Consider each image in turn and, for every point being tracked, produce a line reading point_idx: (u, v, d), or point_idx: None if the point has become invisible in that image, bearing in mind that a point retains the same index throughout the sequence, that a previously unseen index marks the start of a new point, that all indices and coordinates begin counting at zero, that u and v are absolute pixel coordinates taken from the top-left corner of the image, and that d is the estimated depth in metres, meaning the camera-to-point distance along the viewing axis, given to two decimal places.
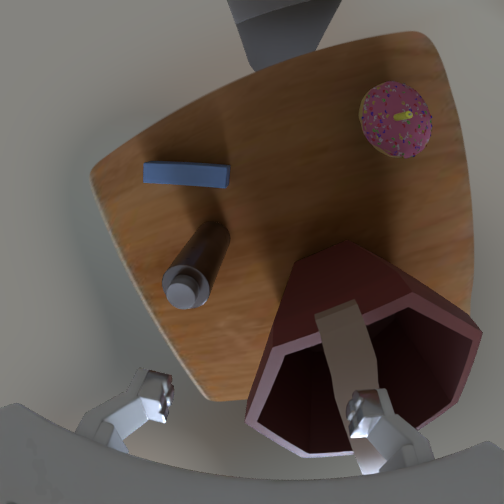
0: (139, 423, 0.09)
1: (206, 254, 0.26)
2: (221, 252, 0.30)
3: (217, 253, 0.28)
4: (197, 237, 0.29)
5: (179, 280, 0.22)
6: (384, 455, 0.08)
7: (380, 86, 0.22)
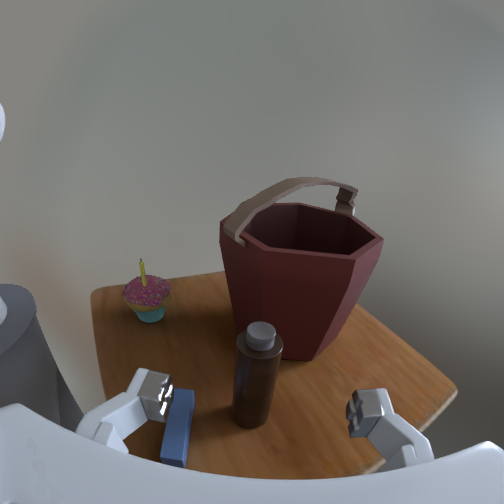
0: (139, 423, 0.09)
1: None
2: None
3: None
4: (234, 389, 0.27)
5: (246, 333, 0.25)
6: (384, 455, 0.08)
7: (125, 295, 0.42)
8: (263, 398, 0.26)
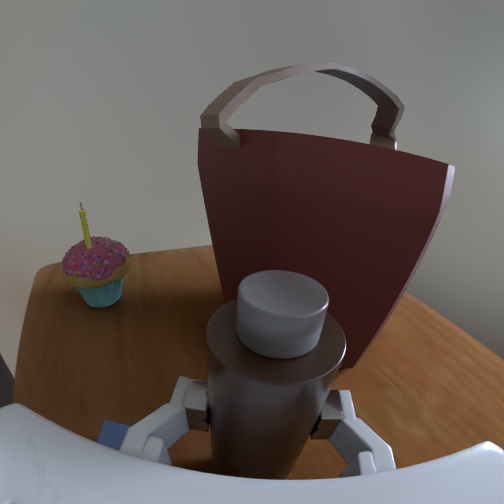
0: (181, 433, 0.09)
1: None
2: None
3: None
4: (212, 443, 0.10)
5: (238, 302, 0.08)
6: (346, 460, 0.09)
7: (62, 263, 0.25)
8: (280, 466, 0.09)
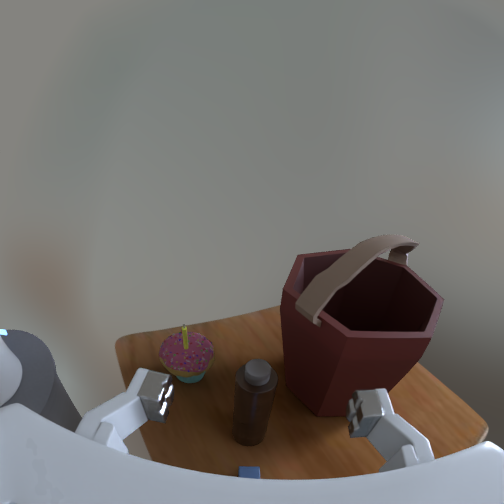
0: (139, 423, 0.09)
1: None
2: None
3: None
4: (234, 414, 0.29)
5: (245, 370, 0.26)
6: (384, 455, 0.08)
7: (164, 359, 0.37)
8: (260, 422, 0.28)
